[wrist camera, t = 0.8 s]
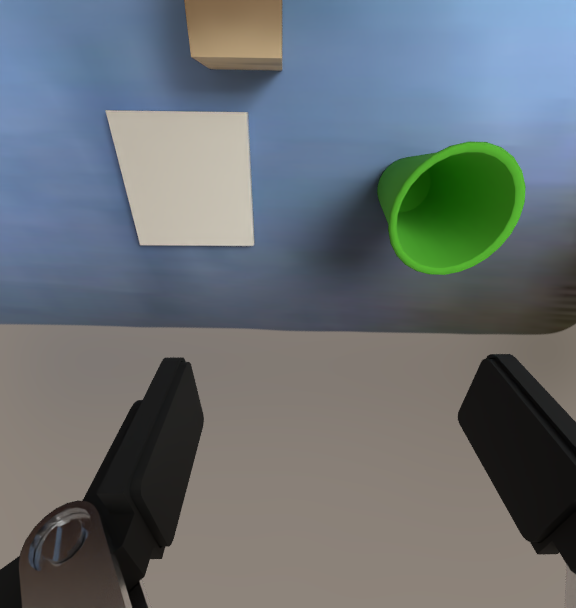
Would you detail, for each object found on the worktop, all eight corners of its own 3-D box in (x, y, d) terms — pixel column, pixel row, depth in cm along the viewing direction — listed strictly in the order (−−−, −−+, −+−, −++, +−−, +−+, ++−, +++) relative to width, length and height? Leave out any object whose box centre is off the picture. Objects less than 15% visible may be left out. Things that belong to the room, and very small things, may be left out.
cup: (366, 241, 33) (399, 290, 24) (347, 154, 29) (379, 172, 19) (452, 214, 32) (522, 254, 22) (446, 117, 27) (531, 117, 18)
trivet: (111, 110, 26) (105, 110, 26) (248, 112, 27) (246, 112, 26) (143, 241, 33) (140, 245, 32) (254, 242, 33) (253, 245, 32)
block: (200, -35, 22) (174, -81, 17) (282, -33, 22) (281, -79, 17) (210, 69, 25) (190, 56, 20) (282, 70, 25) (281, 58, 20)
